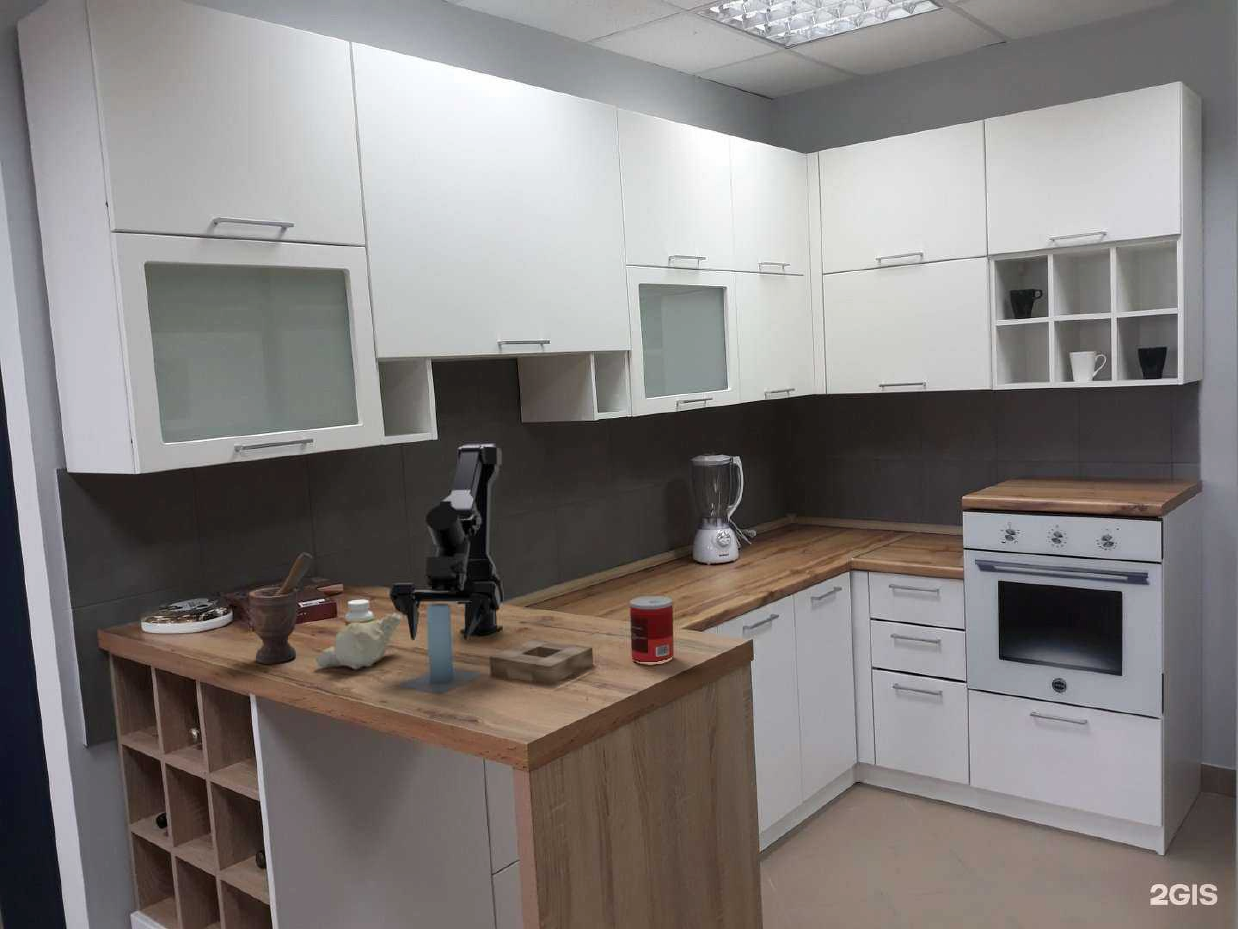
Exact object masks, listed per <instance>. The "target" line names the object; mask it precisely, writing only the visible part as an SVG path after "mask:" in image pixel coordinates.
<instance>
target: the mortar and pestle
mask: <svg viewBox="0 0 1238 929" xmlns="http://www.w3.org/2000/svg"><path fill="white" fill-rule="evenodd" d="M313 563H314V556H312V555H310V554H309V553H306V552H302V553H301V554H299V556H298V557H297V558H296V560H295V562H294V563H293V565H292V567H291V569H290V572H289V575H288V576H287V578H286V580H285V582H284V584H283V585H282V586H278V587H277V586H275V587H266V588H260V589H255V590H251V592H249V593H248V595H249V596H248V598H249V607H250V609H249V610H250V611H249V613H250V620H251V624H252V627H253V628H254V633H255V634H256V635H257V636H258V637H259V638H260V640H261V641H262V644H263V645H261V647H260V648H259V649H258V650H257V651H256V655H255V658H254V659H255V660H256V661H255V662H257V663H260V664H265V665H272V664H279V663H285V662H288V661H291V660H293V659H294V658H296V657H297V652H296V649H295V647H293V646H291V645H290V643H288V641H289V636H291V634H293V632H294V630H295V629H296V625H295V623H296V621H297V618H298V590H297V589H296V586H297V585H298V584H299V582H300V581H301V580H302V578H303V577H305V576H304V575H306V573H307V571H309V569H310V568H311V566H312V565H313Z"/></svg>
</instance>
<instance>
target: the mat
mask: <svg viewBox="0 0 1238 929" xmlns="http://www.w3.org/2000/svg"><path fill="white" fill-rule="evenodd" d="M484 676H487V674H486V673H479V672H475V671H469V670H464V669H457V668H453V680H452V681H450V682H447V683H432V682H430V671H429V672H427V673H425V674H421V675H419V676H417V677H415V678H411V679H409V680H407V681H405V682H402V683H399V684H397V685H395V686H396V687H400V688H405V689H411V690H415V691H420V692H426V693H431V694H436V695H442V694H444V693H448V692H449V691H451V690H453V689H457V688H458V687H461V686H463V685H465V684H468V683H470V682H473V681H475V680H478V679H480V678H482V677H484Z"/></svg>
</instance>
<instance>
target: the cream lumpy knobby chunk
mask: <svg viewBox="0 0 1238 929" xmlns="http://www.w3.org/2000/svg"><path fill="white" fill-rule="evenodd" d="M383 615H385V617H383V618H382V619H377V620H374V621H371V622H368V623H357V622H355V623H351V624H349V625H347V626H346V627H343V628H341V629H340V631H339V633H337V634H336V635H335V638H334V642H333V645H331V646H330V647H328V648H326V649H325V648H324V649H323V650H322V651H321V652H320V653H318V655H317V657H316V658H315V661H316V664H317V665H318V666H319V667H321V668H324V669H328V668H332V667H335V668H339V667H343V666H345V667H346V666H347V667H349V668H352V669H353V670H358V669H361V668H362V667H365V668H367V667H372V666H373V665H374V663H376V662H379V661H380V660H382V659H383V657H384V655H385V653H386V648H387V647H388V644H389V641H390V638H392V635H393V634H394V633H395V632H396V631H397V628H398V626H399V625H401V623H402V622H403V621H404V620H403V617H402V615H400V614H397V613H396V612H394V613H392V614H389V613H386V612H384V613H383Z"/></svg>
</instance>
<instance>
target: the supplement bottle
mask: <svg viewBox="0 0 1238 929" xmlns="http://www.w3.org/2000/svg"><path fill="white" fill-rule="evenodd" d="M369 609H370V601H369V600H367V599H353V600H350V601H348V602H347V610H348V611H349V612H347V613H346V614H345V617H344V623H345V624H344V625H345V627H346V626H347V625H349V624H351V623H355V622H357V623H368V622H371V621H375V619H374V618H375V617H374V613H373V611H370V610H369Z"/></svg>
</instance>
